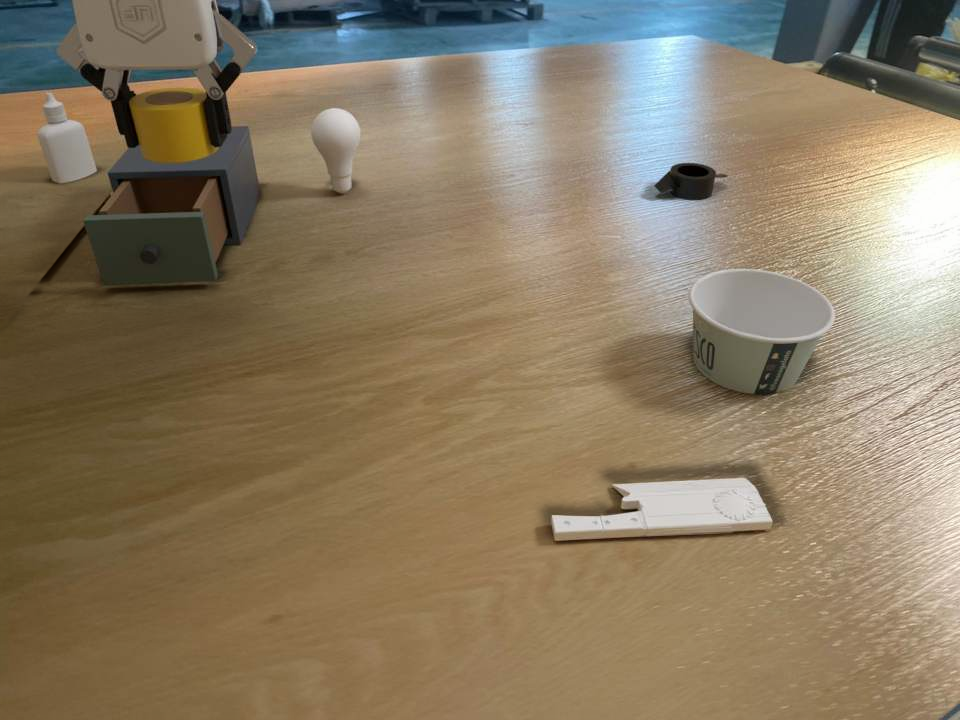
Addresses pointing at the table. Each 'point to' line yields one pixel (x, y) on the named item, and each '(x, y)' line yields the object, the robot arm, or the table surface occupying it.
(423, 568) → the table surface
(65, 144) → the eye dropper bottle
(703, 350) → the food container
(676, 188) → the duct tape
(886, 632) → the table surface
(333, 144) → the lightbulb
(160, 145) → the tape roll
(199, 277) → the drawer
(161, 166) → the cabinet
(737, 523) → the butcher knife
